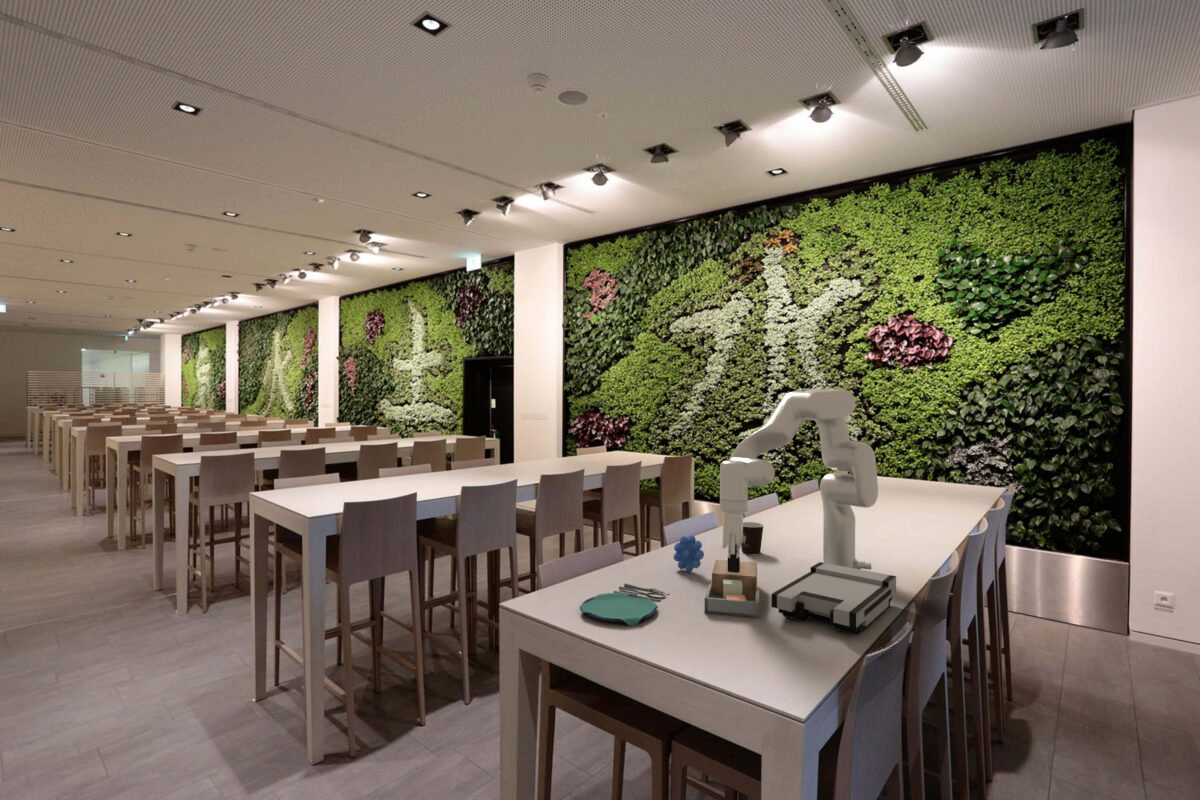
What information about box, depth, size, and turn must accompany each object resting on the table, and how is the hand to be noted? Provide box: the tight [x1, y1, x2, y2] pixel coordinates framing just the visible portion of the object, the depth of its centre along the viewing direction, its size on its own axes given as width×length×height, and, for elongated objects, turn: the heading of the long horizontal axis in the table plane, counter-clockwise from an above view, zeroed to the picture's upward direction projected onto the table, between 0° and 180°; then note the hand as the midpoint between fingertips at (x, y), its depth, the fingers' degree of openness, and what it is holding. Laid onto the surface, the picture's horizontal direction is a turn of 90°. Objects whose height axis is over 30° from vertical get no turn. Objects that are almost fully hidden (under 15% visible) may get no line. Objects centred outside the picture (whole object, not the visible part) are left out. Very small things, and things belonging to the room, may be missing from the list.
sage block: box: [723, 579, 742, 599], centre depth 166 cm, size 5×5×4 cm
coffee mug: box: [740, 521, 764, 555], centre depth 219 cm, size 12×9×10 cm
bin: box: [704, 583, 760, 619], centre depth 162 cm, size 14×12×4 cm
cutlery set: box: [579, 583, 670, 627], centre depth 164 cm, size 20×30×2 cm, turn 151°
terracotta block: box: [726, 594, 746, 601], centre depth 160 cm, size 5×5×2 cm
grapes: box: [673, 534, 705, 573], centre depth 195 cm, size 12×7×12 cm, turn 45°
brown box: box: [711, 559, 758, 599], centre depth 175 cm, size 12×14×7 cm
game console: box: [770, 561, 897, 635], centre depth 159 cm, size 21×32×8 cm, turn 139°
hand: (733, 571), depth 168 cm, fingers closed
